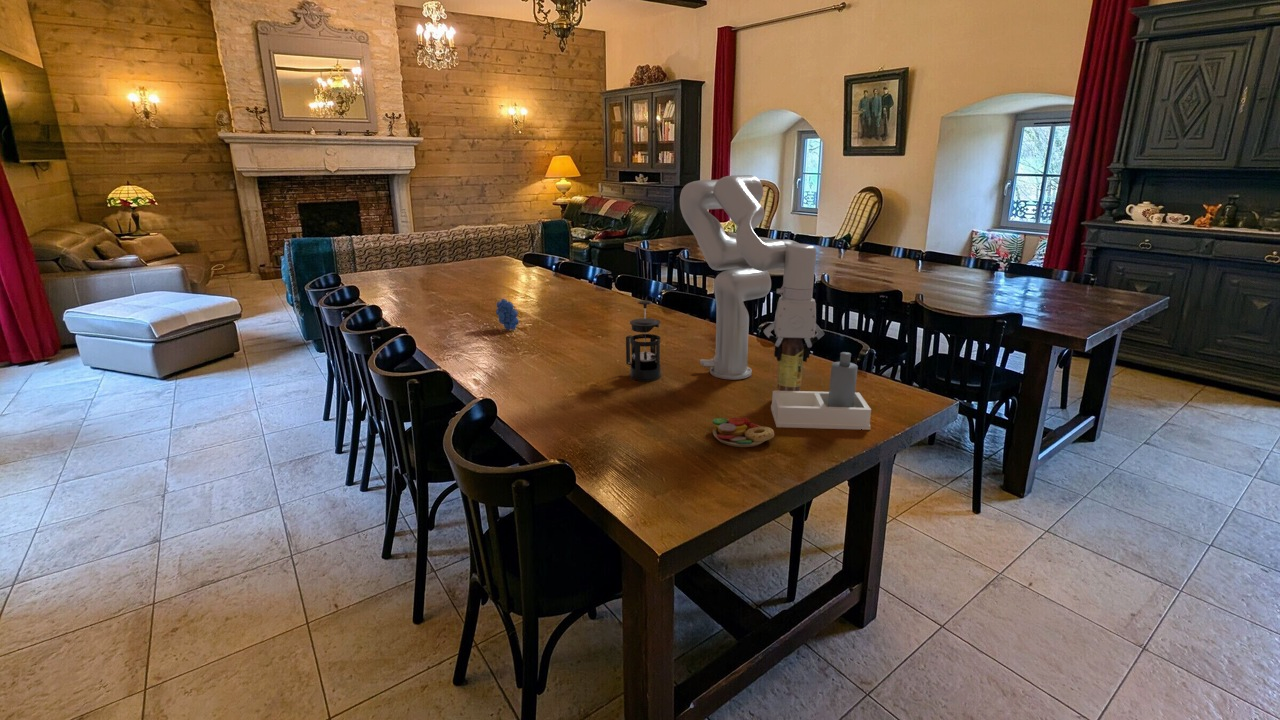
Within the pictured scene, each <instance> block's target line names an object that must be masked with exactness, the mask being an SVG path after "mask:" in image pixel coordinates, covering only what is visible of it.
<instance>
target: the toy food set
mask: <svg viewBox="0 0 1280 720" xmlns="http://www.w3.org/2000/svg"><path fill="white" fill-rule="evenodd" d="M712 424H713V426H714V427H713V429H712V434H713V436H714V438H716V440H718V441H719V442H720V443H721V444H725V445H727V446H731V447H737V448H751V447H757V446H759V445H762V444H763V443H764V442H766V441H769V440H771V439H772V438H774V436H775V431H774V429H773V428H771V427H768V426H762V425H758V424H756V423H752V422H751V420H750V419H749V418H747V417H731V418H729V419H726V418H723V417H716V418H713V419H712Z"/></svg>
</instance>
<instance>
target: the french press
mask: <svg viewBox="0 0 1280 720" xmlns="http://www.w3.org/2000/svg"><path fill="white" fill-rule="evenodd" d="M637 304H639V305H643V309H644V317H642V318H635V319H632V320H630V321H629V324H630V325H631V331H633V332H636V333H640V334H635V335H627V336H625V352H626V353H625V356H626V359H625V361H626V365H628V366H630V375H629V378H630V379H632V380H633V379H634V381H636V380H637V381H638V382H655V381H658V380H659V378H660V379H661V378H662V373H661V370H662V369H661V368H662V367H661V357H660V356H661V352H660V350H661V349H660V348H661V346H660V345H661V343H662V342H661V336H659V335H657V334H652V333H649V332H650V331H652V330H653V329H654V328H659V327H660V325H661V323H662V322H661V320H659V319H656V318H648V317H646V316H647V314H646V313H647V312H646V311H647V310H646V309H647V307H648V305H651V304H653V302H652V301H651V300H639V301H638V302H637ZM640 339H644V341H637V340H640ZM647 339H649V340H650V341H647ZM641 347H642V348H643V347H644V351H641ZM647 347H650V349H649V350H650V351H647ZM657 379H658V380H657ZM654 380H655V381H654Z"/></svg>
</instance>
